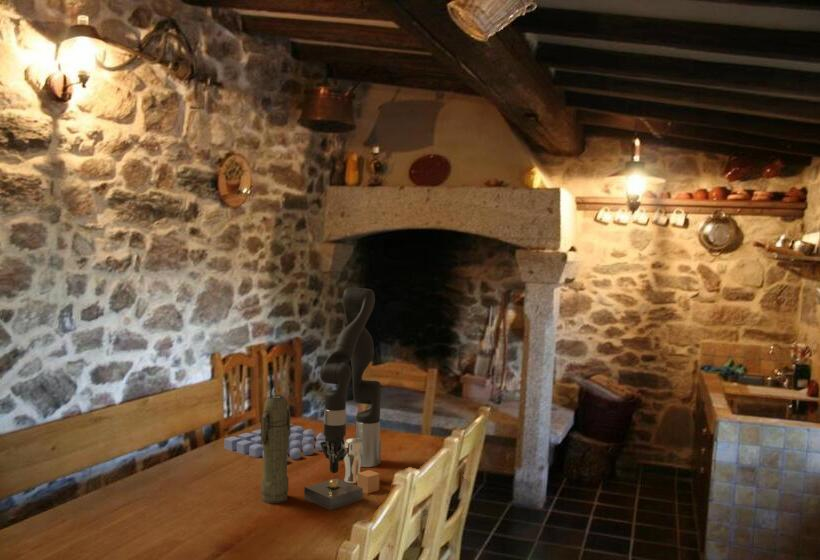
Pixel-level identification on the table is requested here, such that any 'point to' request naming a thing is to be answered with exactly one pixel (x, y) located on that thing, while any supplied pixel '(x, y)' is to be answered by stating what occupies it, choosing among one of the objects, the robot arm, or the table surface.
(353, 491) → the plate
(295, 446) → the blocks
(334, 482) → the pin
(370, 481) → the light brown cube
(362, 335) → the robot arm
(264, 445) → the green stone statue
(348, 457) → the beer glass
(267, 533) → the table surface
